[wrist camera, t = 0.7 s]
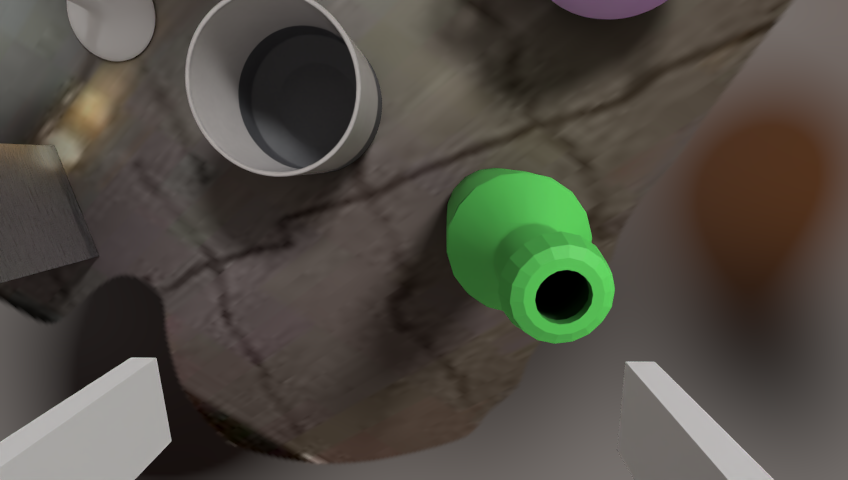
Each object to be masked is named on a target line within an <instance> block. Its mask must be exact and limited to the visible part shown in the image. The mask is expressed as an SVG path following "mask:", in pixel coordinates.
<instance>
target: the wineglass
mask: <svg viewBox="0 0 848 480" xmlns="http://www.w3.org/2000/svg"><path fill="white" fill-rule="evenodd" d="M67 13H68V18H69V22H70V24H71V27H72V29H73V31H74V33H75V35H76V36H77V38H78V39H79V41H80V42H81V43H82V44H83V45H84V47H85V48H87V49H88V50H89V51H90V52H91V53H93V54H94V55H96V56H98V57H100V58H103V59H105V60H109V61H125V60H129V59H132V58H134V57H136V56H137V55H139V54H140V53H141V52H142V51H143V50H144V49H145V48H146V47H147V46H148V44H149V42H150V40H151V38H152V36H153V33H154V28H155V9H154V4H153V1H152V0H67Z"/></svg>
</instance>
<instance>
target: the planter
mask: <svg viewBox="0 0 848 480" xmlns="http://www.w3.org/2000/svg"><path fill="white" fill-rule="evenodd" d="M185 85H186V93H187V98H188V102H189V106H190V109H191V112H192V114H193V117H194V119H195V121H196V123H197V125H198V127H199V128H200V130H201V132H202V133H203V135H204V136H205V137H206V139H207V140H208V141H209V143H210V144H211V145H212V146H213V147H214V148H215V149H216V150H217V151H218V152H219V153H220V154H221V155H222V156H224V157H225V158H226V159H227V160H229V161H230V162H232V163H233V164H235V165H237V166H239V167H241V168H243V169H245V170H247V171H250V172H253V173H256V174H260V175H265V176H273V177H286V176H297V175H308V174H318V173H328V172H333V171H336V170H339V169H342V168H344V167H346V166H348V165H350V164H351V163H353V162H354V161H355V160H357V159H358V158H359V157H360V156H361V155H362V154H363V153H364V152H365V151H366V150H367V148H368V147H369V146H370V144H371V143H372V141H373V139H374V137H375V135H376V133H377V130H378V127H379V124H380V119H381V112H382V98H381V91H380V86H379V82H378V79H377V77H376V74H375V72H374V70H373V68H372V66H371V65H370V63H369V61H368V60H367V59H366V57H365V56H364V55H363V53H362V52H361V51H360V50H359V48H358V47H357V46H356V44H355V43H354V42H353V41H352V39H351V38H350V37H349V35H348V34H347V33H346V32H345V30H344V29H343V28H342V26H341V25H340V24H339V23H338V22H337V20H336V19H335V18H334V17H333V16H332V15H331V14H330V13H329V12H328V11H327V10H326V9H325V8H324V7H322V6H321V5H320V4H318V3H317V2H316V1H314V0H222V1H220V2H219V3H218V4H217V5H215V6H214V7H213V8H212V9H211V10H210V11H209V12H208V13H207V14H206V16H205V17H204V18H203V19H202V21H201V22H200V24H199V25H198V27H197V29H196V31H195V33H194V35H193V37H192V40H191V42H190V45H189V49H188V52H187V57H186V64H185Z"/></svg>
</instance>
